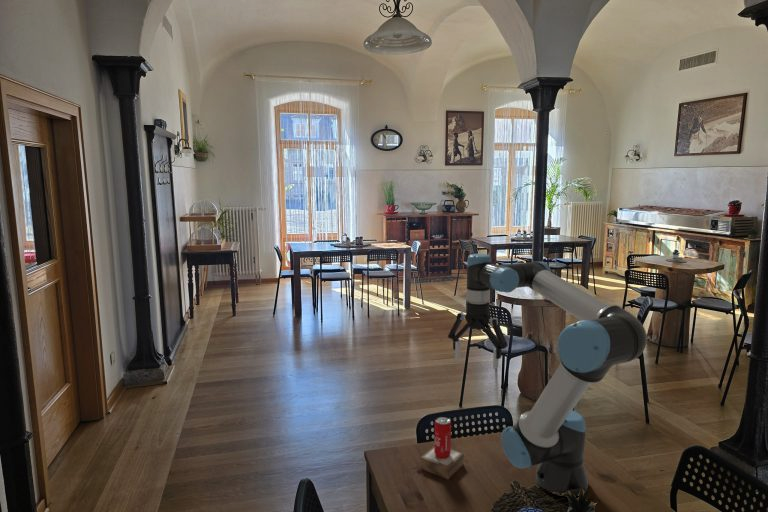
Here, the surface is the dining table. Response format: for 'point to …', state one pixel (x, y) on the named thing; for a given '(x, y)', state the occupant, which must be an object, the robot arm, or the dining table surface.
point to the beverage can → (442, 438)
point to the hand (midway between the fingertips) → (476, 363)
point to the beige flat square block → (442, 463)
